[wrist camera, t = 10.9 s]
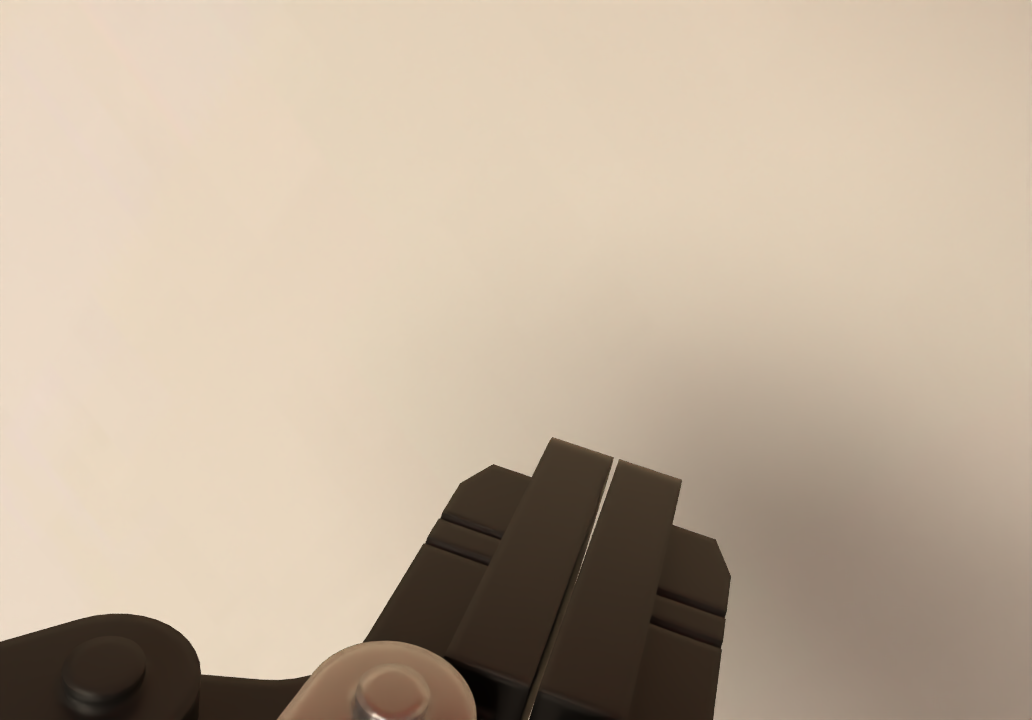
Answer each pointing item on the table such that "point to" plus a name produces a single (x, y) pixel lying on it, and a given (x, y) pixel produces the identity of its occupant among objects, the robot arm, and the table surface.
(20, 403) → the table surface
